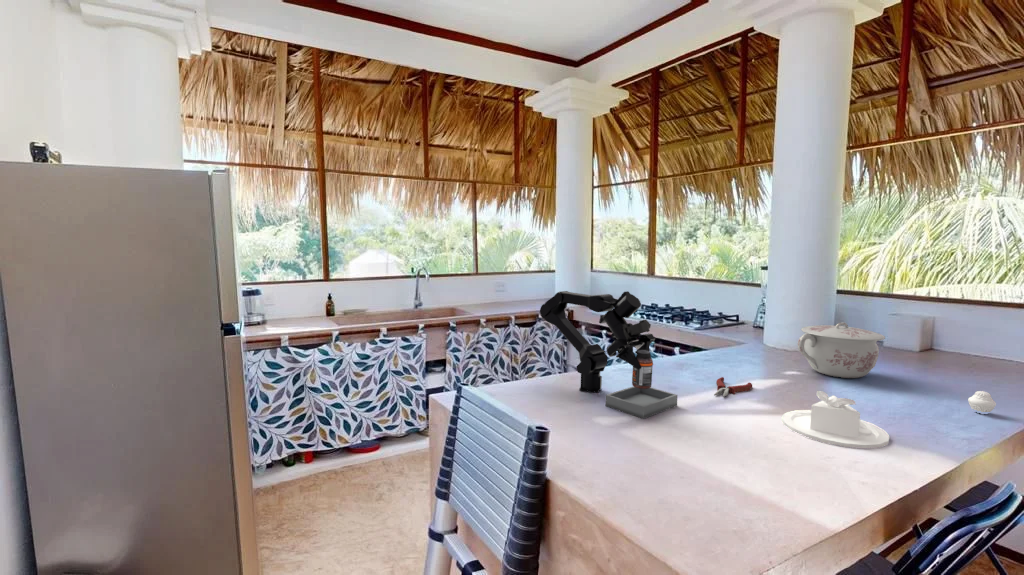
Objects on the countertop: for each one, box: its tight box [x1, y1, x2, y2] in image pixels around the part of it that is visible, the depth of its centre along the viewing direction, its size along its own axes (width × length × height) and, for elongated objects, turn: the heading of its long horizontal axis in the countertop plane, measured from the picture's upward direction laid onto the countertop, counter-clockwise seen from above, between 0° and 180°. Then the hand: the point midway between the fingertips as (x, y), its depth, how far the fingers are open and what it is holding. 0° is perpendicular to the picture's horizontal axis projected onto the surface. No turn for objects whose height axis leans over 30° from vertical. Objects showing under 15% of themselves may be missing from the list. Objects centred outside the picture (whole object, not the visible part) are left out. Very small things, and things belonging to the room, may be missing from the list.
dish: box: [781, 390, 890, 450], centre depth 133 cm, size 25×25×11 cm
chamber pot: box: [797, 321, 886, 379], centre depth 189 cm, size 28×28×21 cm
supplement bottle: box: [631, 350, 654, 389], centre depth 149 cm, size 6×6×11 cm
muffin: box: [967, 390, 997, 413], centre depth 147 cm, size 6×6×7 cm
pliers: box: [713, 376, 753, 398], centre depth 166 cm, size 11×20×3 cm, turn 139°
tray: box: [605, 385, 678, 419], centre depth 150 cm, size 14×18×4 cm
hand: (646, 367), depth 148 cm, fingers closed on supplement bottle, 6 cm apart
